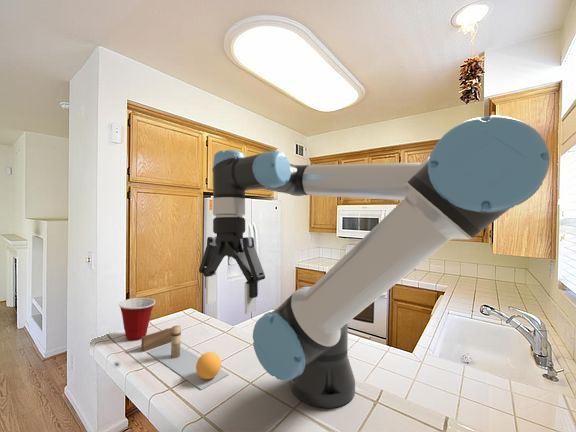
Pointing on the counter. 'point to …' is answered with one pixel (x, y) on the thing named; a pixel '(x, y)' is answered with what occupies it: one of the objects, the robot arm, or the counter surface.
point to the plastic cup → (136, 317)
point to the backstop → (156, 339)
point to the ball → (208, 365)
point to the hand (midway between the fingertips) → (229, 307)
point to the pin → (175, 341)
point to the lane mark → (185, 365)
